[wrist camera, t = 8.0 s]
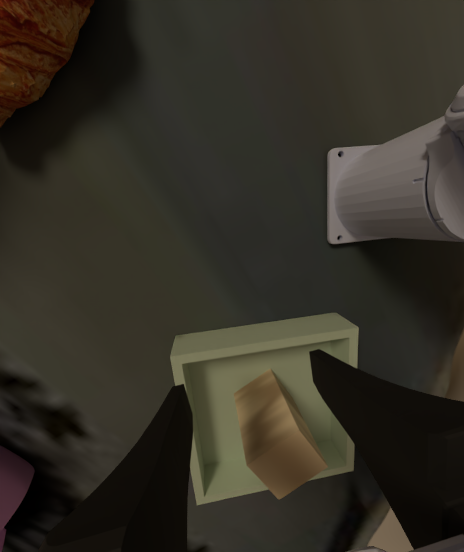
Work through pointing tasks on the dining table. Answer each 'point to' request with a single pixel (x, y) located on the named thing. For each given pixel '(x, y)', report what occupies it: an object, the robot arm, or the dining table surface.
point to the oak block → (276, 436)
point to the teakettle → (12, 486)
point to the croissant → (35, 46)
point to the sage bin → (242, 370)
